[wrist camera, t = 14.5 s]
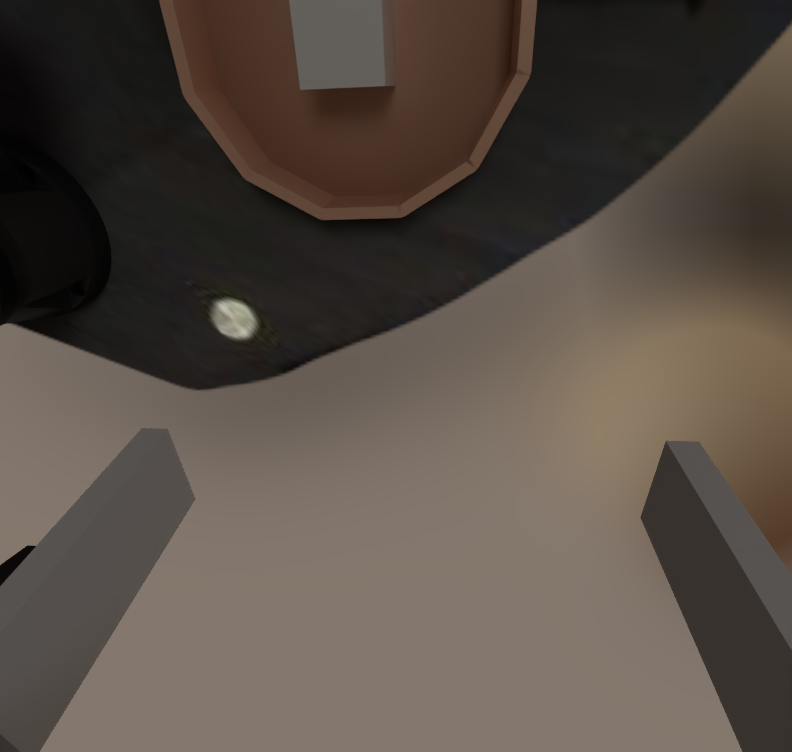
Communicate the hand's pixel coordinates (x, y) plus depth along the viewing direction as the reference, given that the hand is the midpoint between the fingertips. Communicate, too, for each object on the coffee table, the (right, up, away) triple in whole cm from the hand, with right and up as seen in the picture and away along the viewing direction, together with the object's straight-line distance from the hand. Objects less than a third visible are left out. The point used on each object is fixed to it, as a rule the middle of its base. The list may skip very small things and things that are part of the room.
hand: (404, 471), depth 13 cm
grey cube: (-3, +25, +18) cm, 31 cm away
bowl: (-3, +25, +18) cm, 32 cm away
